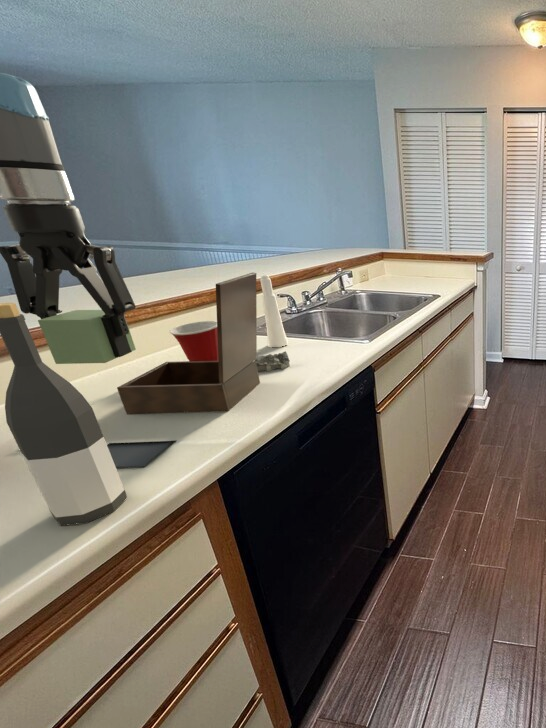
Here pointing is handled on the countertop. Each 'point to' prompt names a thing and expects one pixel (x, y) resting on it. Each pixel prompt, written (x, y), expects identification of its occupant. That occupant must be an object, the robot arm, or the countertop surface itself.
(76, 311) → the cube
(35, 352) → the wine bottle
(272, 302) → the white tapered tower
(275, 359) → the grey rock
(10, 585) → the countertop surface
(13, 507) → the countertop surface
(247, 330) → the lid
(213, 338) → the plastic cup
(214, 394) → the chest
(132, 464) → the mat
